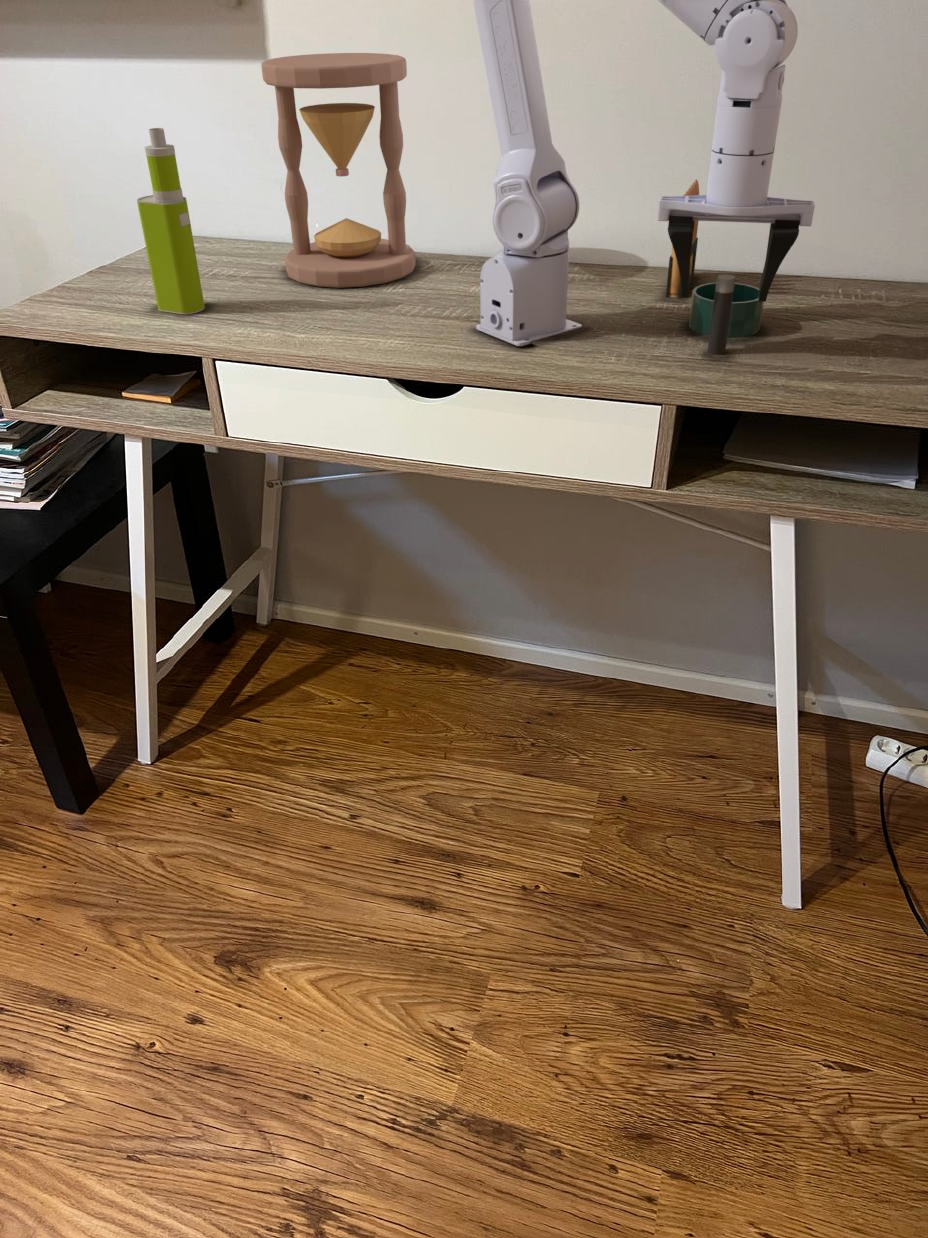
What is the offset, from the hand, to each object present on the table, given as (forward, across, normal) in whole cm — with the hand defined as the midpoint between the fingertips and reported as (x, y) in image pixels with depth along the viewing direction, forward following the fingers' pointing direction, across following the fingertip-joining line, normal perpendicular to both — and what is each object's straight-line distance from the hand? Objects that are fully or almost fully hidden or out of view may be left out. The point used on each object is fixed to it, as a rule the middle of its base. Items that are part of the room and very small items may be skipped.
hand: (723, 296), depth 99 cm
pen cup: (+6, -1, -9) cm, 11 cm away
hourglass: (+6, +49, -26) cm, 56 cm away
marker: (+6, 0, 0) cm, 6 cm away
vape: (+7, +64, -6) cm, 65 cm away
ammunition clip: (+6, +5, -24) cm, 25 cm away
